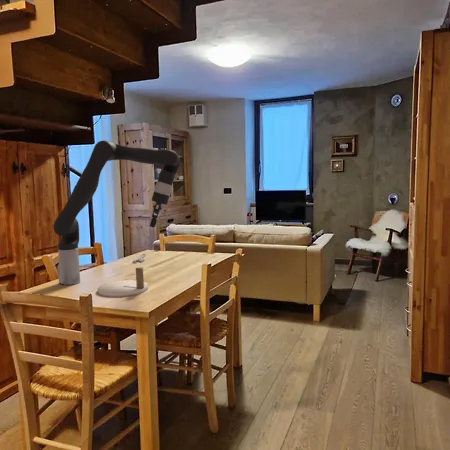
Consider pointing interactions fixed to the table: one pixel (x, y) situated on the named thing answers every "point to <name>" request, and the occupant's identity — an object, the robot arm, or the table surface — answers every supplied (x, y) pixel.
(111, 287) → the dial
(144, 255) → the adjustable wrench
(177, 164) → the robot arm
